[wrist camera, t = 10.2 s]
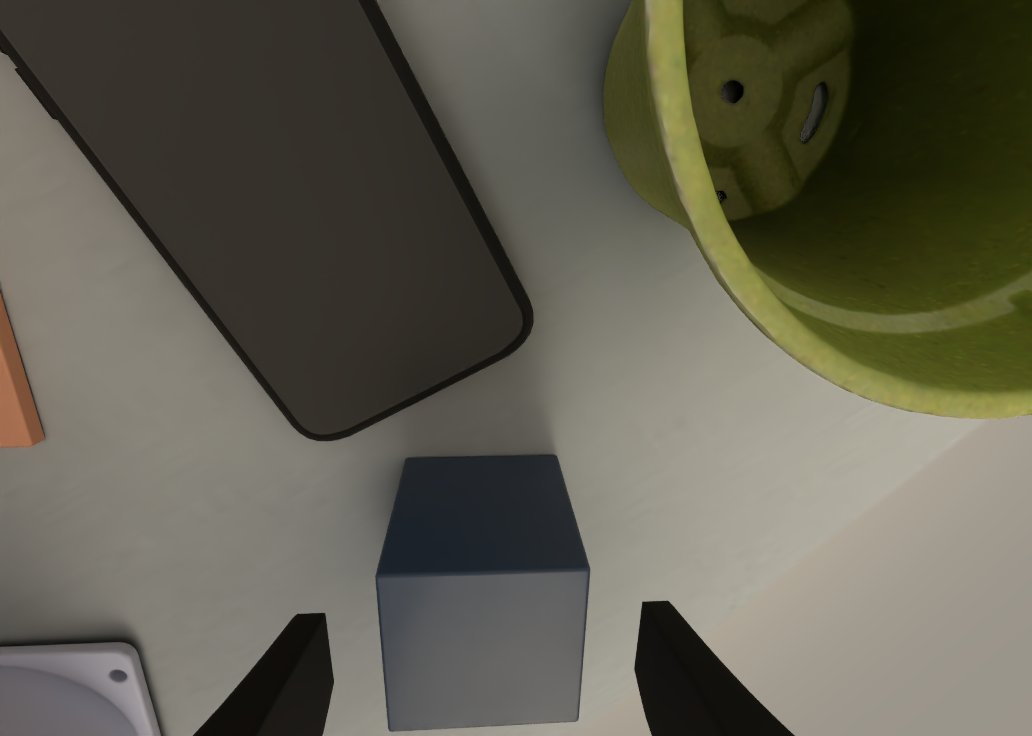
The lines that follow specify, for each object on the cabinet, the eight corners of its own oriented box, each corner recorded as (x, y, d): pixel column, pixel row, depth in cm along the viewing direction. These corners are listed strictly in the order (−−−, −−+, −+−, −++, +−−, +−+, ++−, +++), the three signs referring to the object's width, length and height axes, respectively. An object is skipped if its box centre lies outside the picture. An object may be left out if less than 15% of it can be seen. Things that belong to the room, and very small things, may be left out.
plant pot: (977, -100, 12) (2068, -719, 4) (839, 306, 15) (1280, 455, 7) (572, -193, 11) (865, -1333, 3) (511, 264, 14) (563, 380, 6)
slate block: (551, 576, 17) (579, 723, 13) (412, 581, 17) (387, 733, 12) (557, 454, 16) (591, 568, 11) (405, 457, 16) (374, 575, 11)
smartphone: (310, 461, 14) (-193, -189, 9) (319, 444, 15) (-135, -158, 10) (551, 337, 14) (154, -439, 9) (547, 327, 15) (183, -382, 9)
